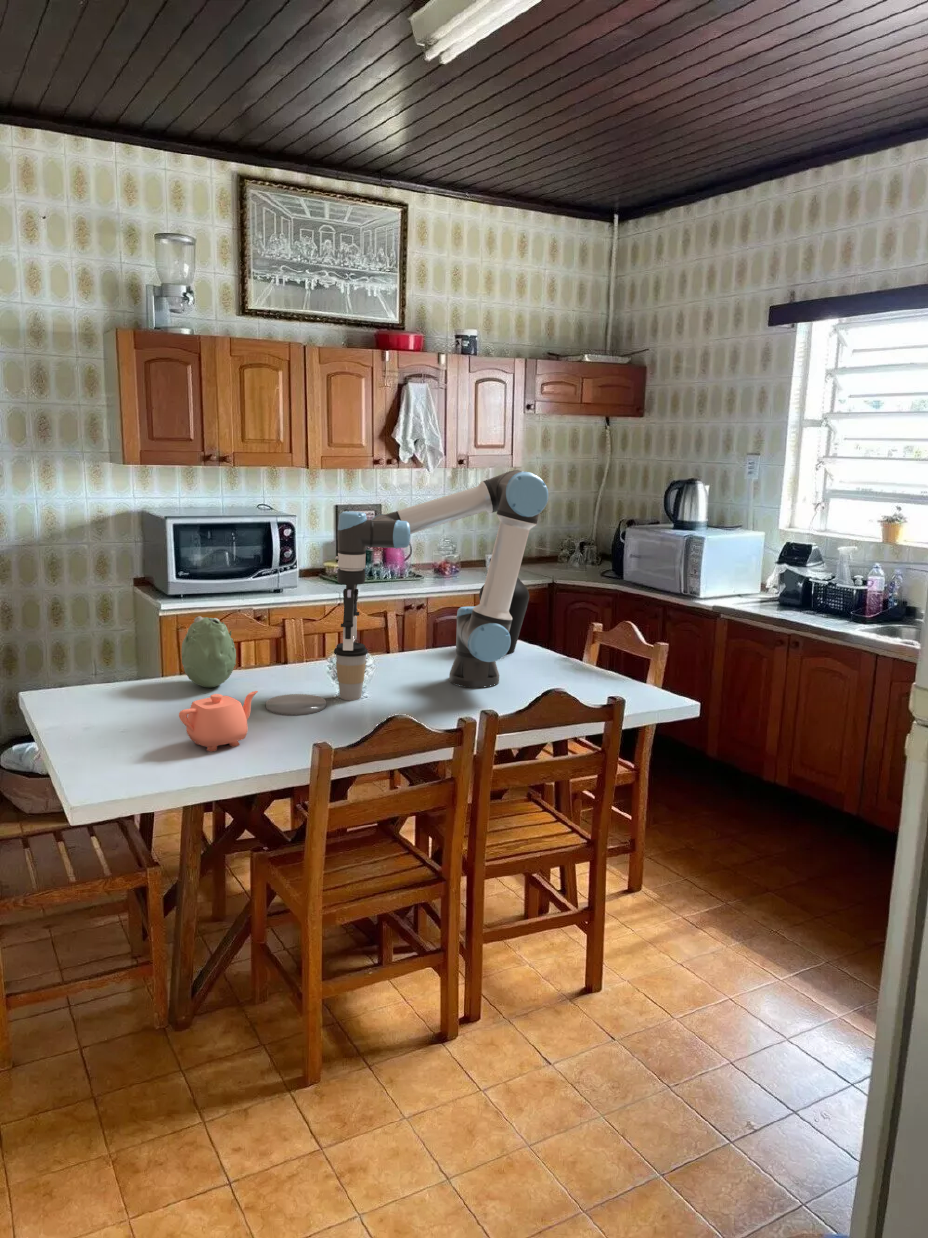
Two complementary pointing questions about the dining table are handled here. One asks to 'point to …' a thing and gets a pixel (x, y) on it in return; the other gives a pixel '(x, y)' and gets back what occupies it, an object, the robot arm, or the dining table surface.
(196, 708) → the teapot
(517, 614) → the vase
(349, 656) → the coffee cup
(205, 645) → the green bumpy egg shape
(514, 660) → the dining table surface
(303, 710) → the coaster
